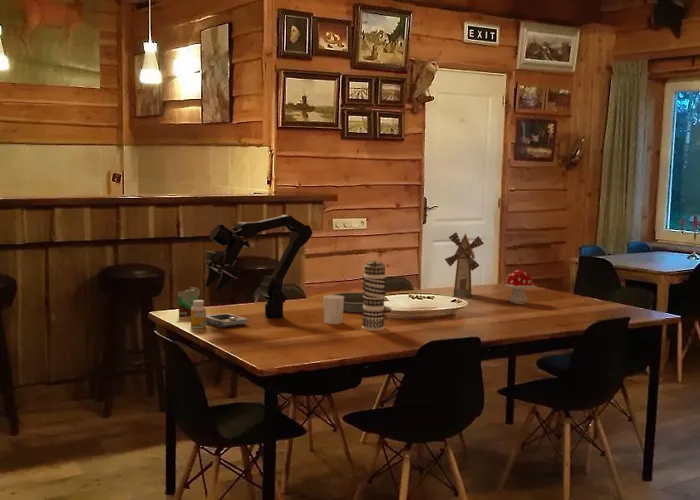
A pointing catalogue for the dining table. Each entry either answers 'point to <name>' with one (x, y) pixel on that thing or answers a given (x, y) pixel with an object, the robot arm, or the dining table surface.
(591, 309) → the dining table surface
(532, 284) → the decorative mushroom
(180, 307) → the food container
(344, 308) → the cake pan
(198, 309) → the supplement bottle
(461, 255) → the windmill
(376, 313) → the decorative candle
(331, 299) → the white cup
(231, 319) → the grey knobbed square frame
